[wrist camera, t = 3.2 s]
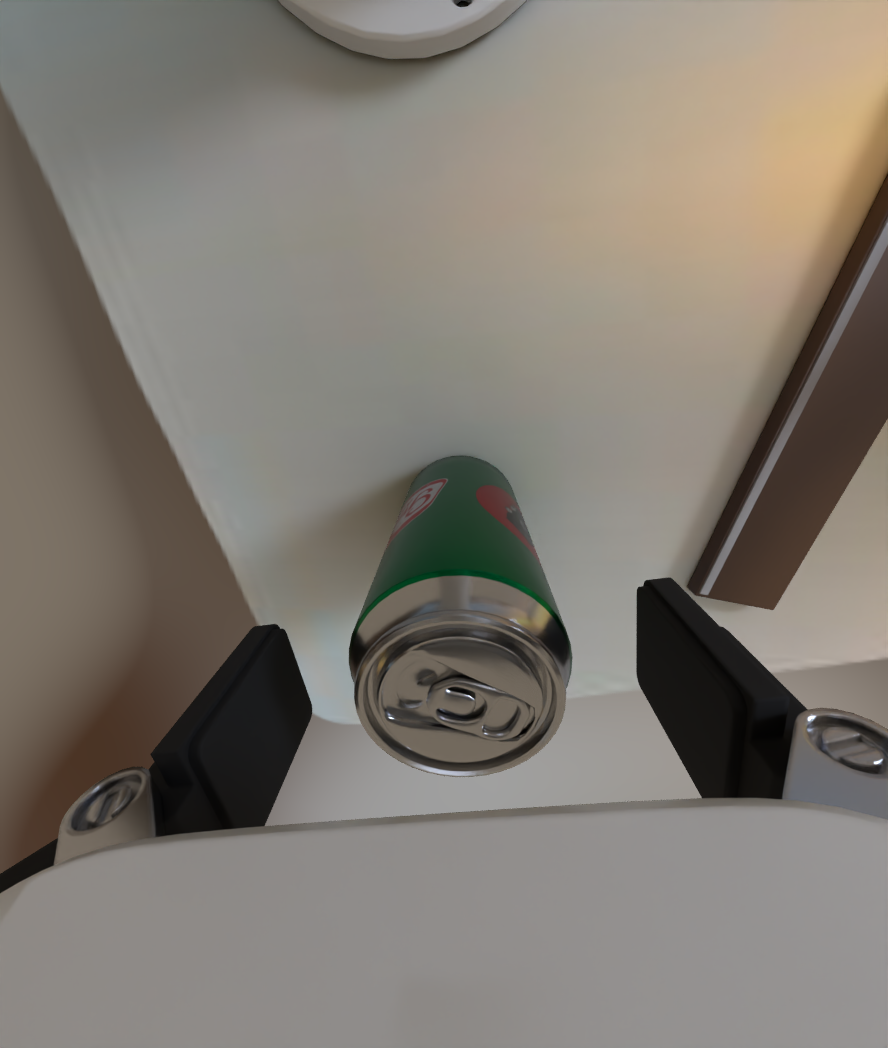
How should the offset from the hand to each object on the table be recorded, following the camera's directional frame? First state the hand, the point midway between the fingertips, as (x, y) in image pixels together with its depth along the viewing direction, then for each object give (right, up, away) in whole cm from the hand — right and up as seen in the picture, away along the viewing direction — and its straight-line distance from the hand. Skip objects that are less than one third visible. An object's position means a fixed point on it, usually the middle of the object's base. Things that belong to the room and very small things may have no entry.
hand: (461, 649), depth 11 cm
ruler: (+16, +9, +6) cm, 19 cm away
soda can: (0, +4, +9) cm, 10 cm away
